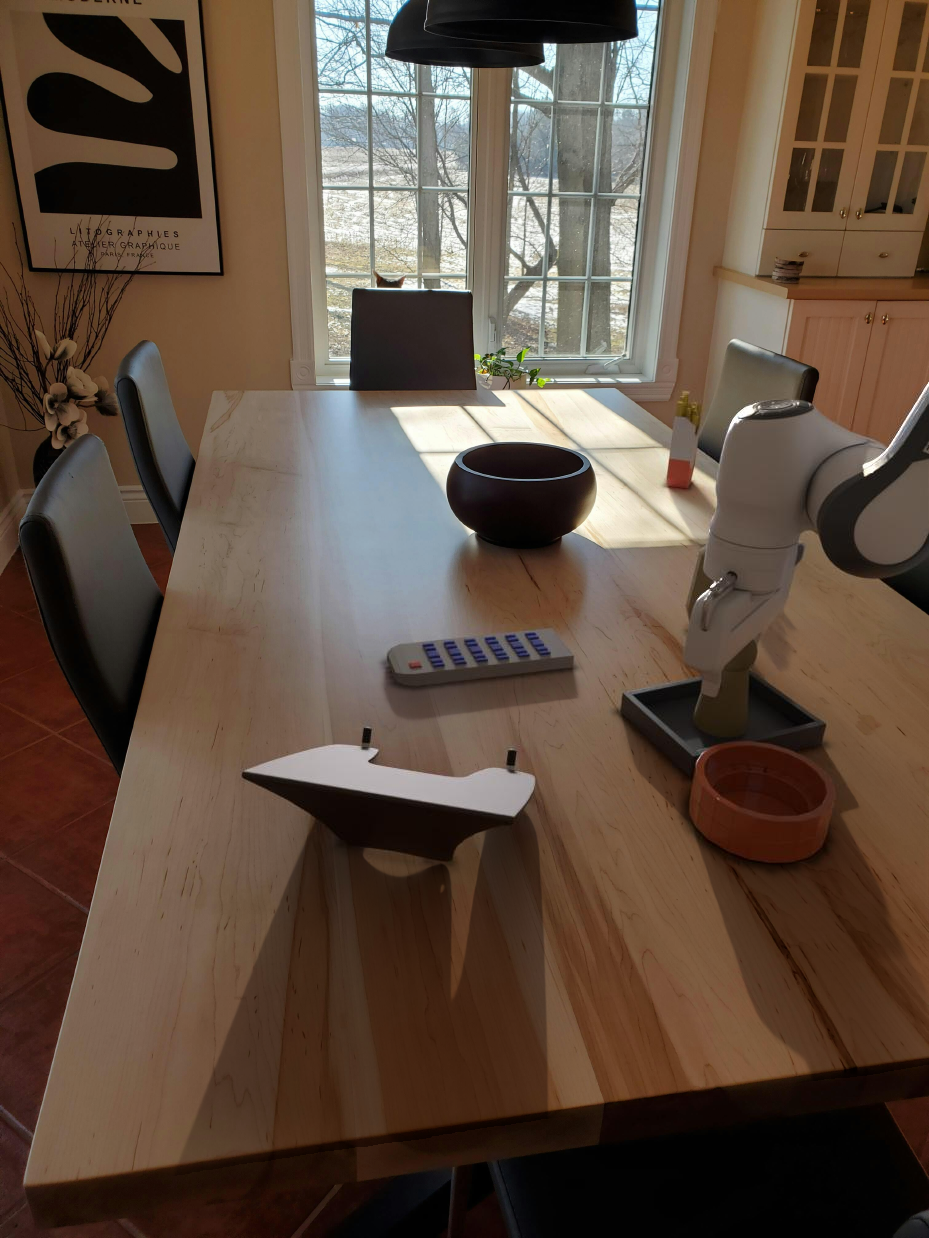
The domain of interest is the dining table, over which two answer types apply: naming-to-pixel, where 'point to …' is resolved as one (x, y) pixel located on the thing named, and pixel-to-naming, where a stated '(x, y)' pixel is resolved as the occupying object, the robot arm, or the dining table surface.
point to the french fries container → (684, 442)
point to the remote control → (478, 657)
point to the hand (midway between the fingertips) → (728, 676)
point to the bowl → (761, 801)
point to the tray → (674, 733)
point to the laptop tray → (394, 798)
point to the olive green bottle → (728, 698)
